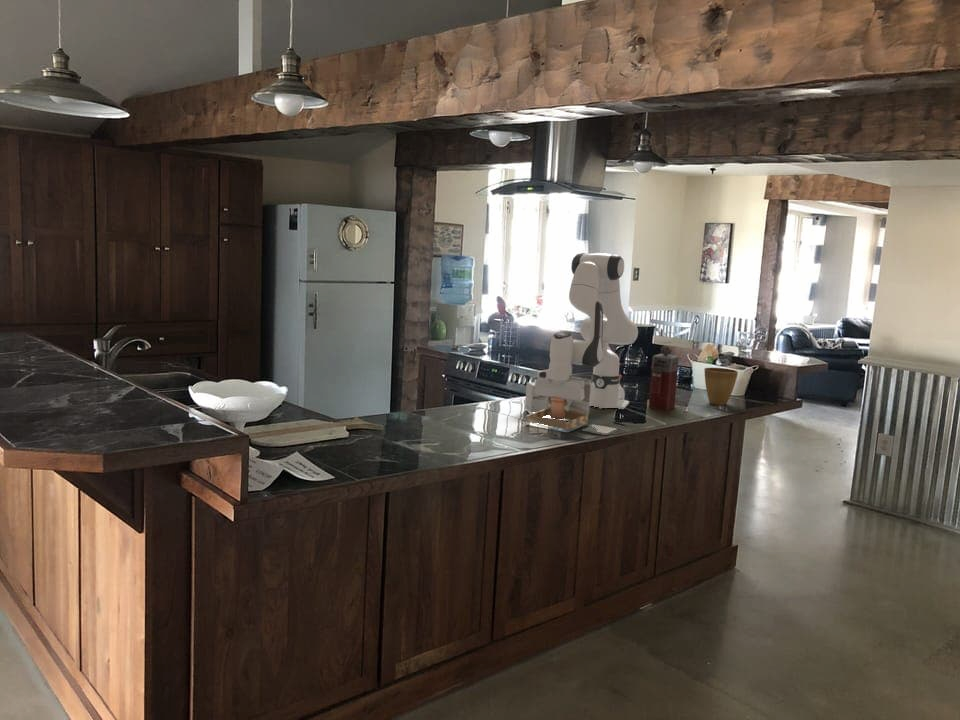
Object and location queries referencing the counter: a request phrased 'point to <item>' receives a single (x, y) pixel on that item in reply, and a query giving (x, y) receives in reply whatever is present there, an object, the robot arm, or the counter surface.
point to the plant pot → (719, 384)
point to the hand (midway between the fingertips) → (558, 409)
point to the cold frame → (566, 412)
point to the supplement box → (534, 399)
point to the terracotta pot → (558, 408)
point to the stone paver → (603, 428)
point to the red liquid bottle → (663, 380)
